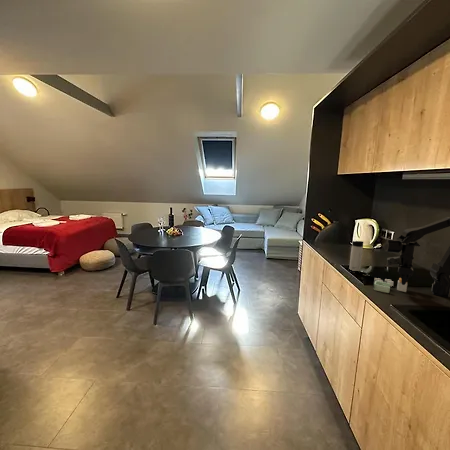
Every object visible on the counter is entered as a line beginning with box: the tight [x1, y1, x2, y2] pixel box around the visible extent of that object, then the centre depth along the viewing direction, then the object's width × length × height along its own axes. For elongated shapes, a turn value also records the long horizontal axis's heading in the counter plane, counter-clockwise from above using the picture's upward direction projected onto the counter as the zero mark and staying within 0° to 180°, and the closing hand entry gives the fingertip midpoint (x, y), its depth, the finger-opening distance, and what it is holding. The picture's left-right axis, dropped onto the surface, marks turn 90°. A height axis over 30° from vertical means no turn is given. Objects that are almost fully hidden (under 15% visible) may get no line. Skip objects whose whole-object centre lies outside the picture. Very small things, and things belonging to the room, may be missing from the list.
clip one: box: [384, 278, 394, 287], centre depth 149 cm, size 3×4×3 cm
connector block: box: [396, 277, 408, 293], centre depth 142 cm, size 4×4×6 cm
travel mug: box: [348, 240, 364, 272], centre depth 169 cm, size 6×7×20 cm
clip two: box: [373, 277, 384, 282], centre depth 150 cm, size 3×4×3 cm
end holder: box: [373, 281, 391, 294], centre depth 142 cm, size 7×7×3 cm
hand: (402, 282), depth 142 cm, fingers open, 9 cm apart
